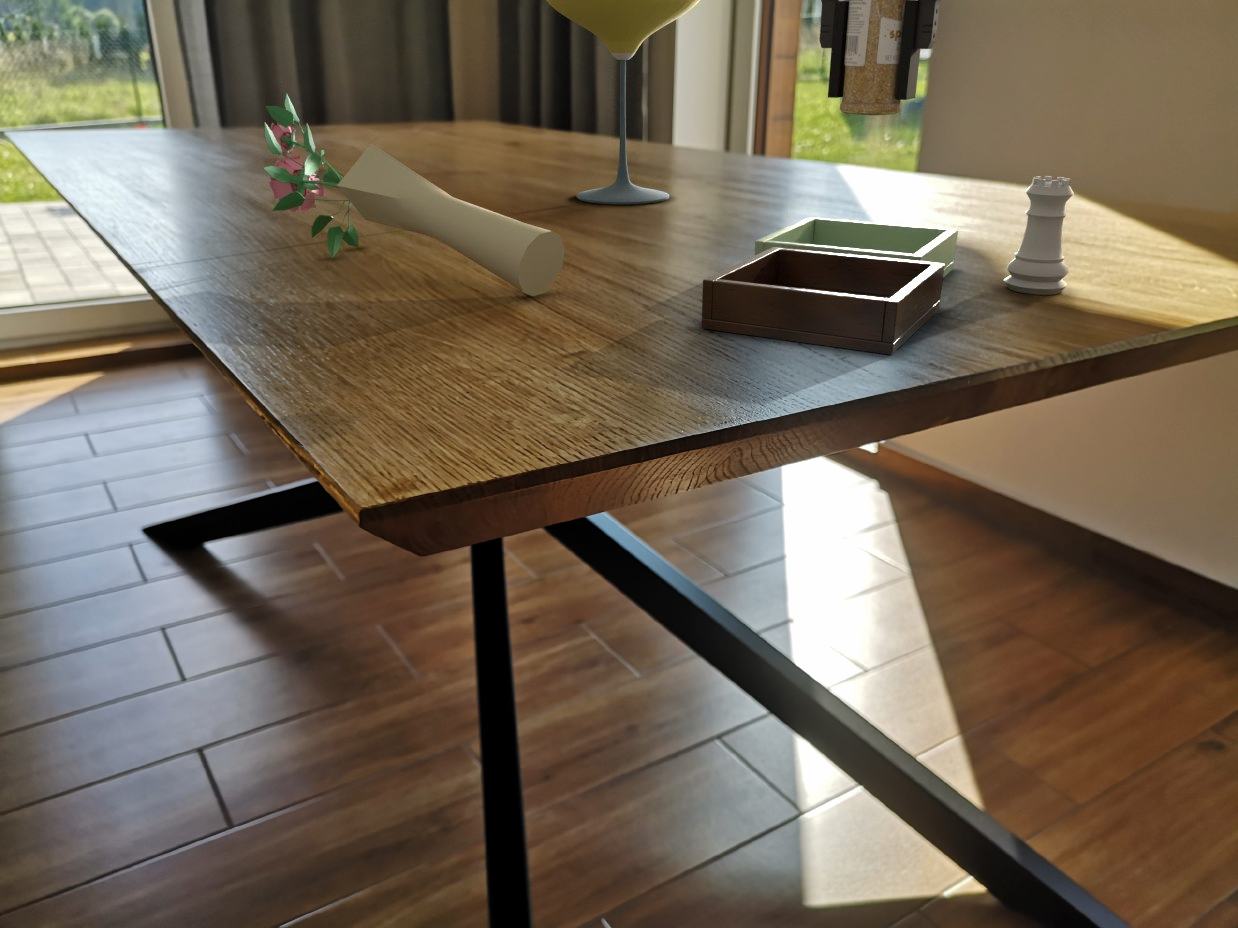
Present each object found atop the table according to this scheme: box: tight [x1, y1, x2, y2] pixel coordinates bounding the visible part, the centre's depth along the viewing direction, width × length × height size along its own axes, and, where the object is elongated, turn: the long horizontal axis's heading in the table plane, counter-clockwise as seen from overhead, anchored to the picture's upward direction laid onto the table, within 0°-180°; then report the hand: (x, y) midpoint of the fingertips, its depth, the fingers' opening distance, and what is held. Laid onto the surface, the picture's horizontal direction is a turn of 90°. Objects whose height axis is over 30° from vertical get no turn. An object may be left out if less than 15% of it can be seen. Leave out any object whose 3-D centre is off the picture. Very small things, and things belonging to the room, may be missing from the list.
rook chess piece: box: [1003, 175, 1075, 296], centre depth 75 cm, size 4×4×8 cm
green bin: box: [754, 216, 959, 278], centre depth 80 cm, size 12×12×3 cm
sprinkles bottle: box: [839, 0, 905, 116], centre depth 74 cm, size 5×5×14 cm
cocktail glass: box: [545, 0, 701, 206], centre depth 115 cm, size 18×18×25 cm
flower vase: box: [262, 93, 566, 297], centre depth 84 cm, size 12×12×35 cm
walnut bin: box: [701, 247, 945, 356], centre depth 68 cm, size 12×12×3 cm
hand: (871, 97), depth 76 cm, fingers closed on sprinkles bottle, 4 cm apart
